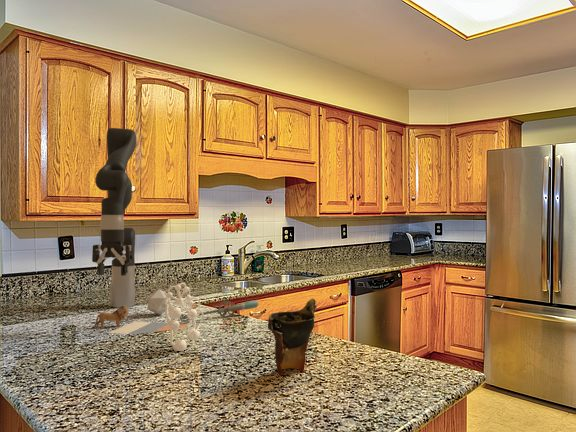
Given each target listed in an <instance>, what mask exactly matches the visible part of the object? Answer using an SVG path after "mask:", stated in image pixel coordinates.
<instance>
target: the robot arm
mask: <svg viewBox="0 0 576 432" xmlns="http://www.w3.org/2000/svg"><path fill="white" fill-rule="evenodd" d="M136 148H137V132H136V131H135V130H133V129H130V128H118V127H110V128H108V129H107V132H106V153H107V160H106V162H105V164H104V165H103V166H102V167H101V168H100V169H99V170H98V171H97V173H96V175H95V178H94V179H95V182H94V183H95V186H96V187H97V189H99V190H101V191H107V197H104V198H103V199H102V200H101V203H100V204H101V208H100V209H101V216H100V242H101V244H99V243H98V244H93V245H92V255H91V261H92V263H96V264H97V273H98V276H103V275H105V262H106V260H107V259H109V258H112V260H111V283H109V307H113V308H115V309H116V308H117V309H119V308H120V307H121V306H123V305H125V306H127V307H128V308H130V307H131V308H132V307H134V306H136V305H135V304H136V298H135V297H136V284H135V283H136V278H135V277H136V272H135V271H136V267H135V265H136V261H135V250H136V249H135V247H136V231H135V229H134V228H132V227H125V220H124V212H125V211H126V210H127V208H128V207H129V205H130V203H131V201H132V199H133V183H132V181H131V179H130V177H129V175H128V173H127V172H126V170H127V166H128V162H129V161H130V159H131V158H132V156H133V154H134V153H135V150H136ZM124 251H125V252H124Z"/></svg>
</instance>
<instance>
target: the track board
mask: <svg viewBox="0 0 576 432" xmlns="http://www.w3.org/2000/svg"><path fill="white" fill-rule="evenodd" d="M120 323H128V324H125V325H123V326H120V327H117V328H116V329H113V330H111V331H98V330H97V331H96V330H90V331H89V333H104V334H122V335H123V334H125V335H126V334H127V335H140V334H147V333H153V332H162V331H170V329H171V328H170V326H169V323H168V322H153V321H151V322H150V321H135V320H134V321H132V320H131V321H130V320H121V321H120ZM188 325H189V324H188V323H179V328H178V329H183V328H184V327H187V326H188ZM178 329H177V330H178Z"/></svg>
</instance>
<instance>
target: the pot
mask: <svg viewBox="0 0 576 432" xmlns="http://www.w3.org/2000/svg"><path fill="white" fill-rule="evenodd" d="M316 309H317V302H316V299H315V298H310V299H309V300H308V301H306V304H305V306H303V308H301V309H299V310H292V311H278V312H274V313H273V312H272V313H270V315H269V316H268V321H267V329H268V330H269V331H271V333H272V335H273V336H274V339H275V340H274V341H275V342H274V343H275V344H274V358H275V364H276V370H277V374H279V375H280V376H283V374H284V371H283V370H287V369H297V370H300V371H302V372H304V371H305V367H306V353H307V350H308V345H309V341H310V337H311V334H312V332H313V330H314V327H315V318H316V315H315V313H316Z"/></svg>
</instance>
